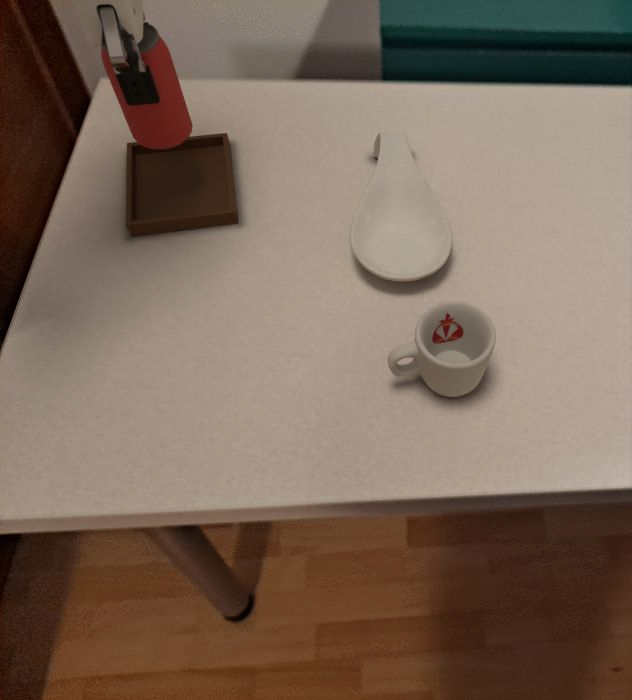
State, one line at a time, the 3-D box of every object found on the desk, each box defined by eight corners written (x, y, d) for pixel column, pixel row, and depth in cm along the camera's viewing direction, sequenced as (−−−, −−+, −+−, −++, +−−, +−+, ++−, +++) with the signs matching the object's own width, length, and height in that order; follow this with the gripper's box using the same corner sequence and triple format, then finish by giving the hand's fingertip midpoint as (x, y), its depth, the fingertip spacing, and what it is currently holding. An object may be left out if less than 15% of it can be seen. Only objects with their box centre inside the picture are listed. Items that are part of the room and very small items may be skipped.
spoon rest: (456, 292, 80) (461, 252, 74) (354, 300, 78) (351, 259, 72) (432, 153, 92) (434, 109, 86) (344, 157, 91) (340, 112, 85)
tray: (131, 237, 81) (125, 225, 79) (131, 155, 88) (126, 142, 86) (238, 223, 83) (235, 211, 81) (230, 144, 90) (227, 132, 89)
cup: (397, 419, 70) (396, 380, 64) (381, 355, 74) (379, 312, 68) (497, 398, 73) (506, 358, 66) (476, 337, 77) (483, 293, 70)
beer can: (143, 111, 80) (106, 13, 70) (200, 117, 80) (171, 20, 70) (125, 150, 76) (83, 52, 66) (185, 155, 77) (153, 59, 67)
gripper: (35, -151, 61) (107, 34, 76) (18, -49, 52) (104, 138, 67) (125, -153, 63) (178, 29, 78) (123, -54, 54) (184, 131, 69)
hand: (143, 79), depth 72 cm, fingers closed on beer can, 6 cm apart
